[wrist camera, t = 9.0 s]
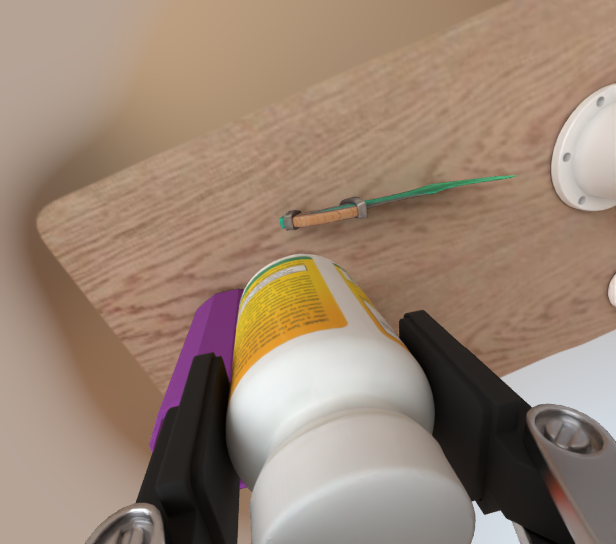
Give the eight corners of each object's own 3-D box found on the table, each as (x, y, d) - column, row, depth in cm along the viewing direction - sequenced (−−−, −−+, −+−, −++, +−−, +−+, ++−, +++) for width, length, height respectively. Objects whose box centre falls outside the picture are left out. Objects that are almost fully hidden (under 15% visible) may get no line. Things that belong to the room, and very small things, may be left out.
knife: (280, 228, 31) (285, 241, 26) (276, 210, 30) (280, 220, 26) (481, 181, 33) (518, 186, 28) (481, 163, 32) (519, 165, 27)
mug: (175, 310, 32) (114, 428, 18) (311, 244, 32) (355, 313, 18) (220, 374, 36) (199, 514, 22) (344, 315, 35) (402, 417, 22)
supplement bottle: (373, 268, 14) (575, 458, 5) (332, 366, 16) (436, 642, 7) (256, 235, 13) (264, 416, 4) (224, 345, 14) (177, 658, 5)
